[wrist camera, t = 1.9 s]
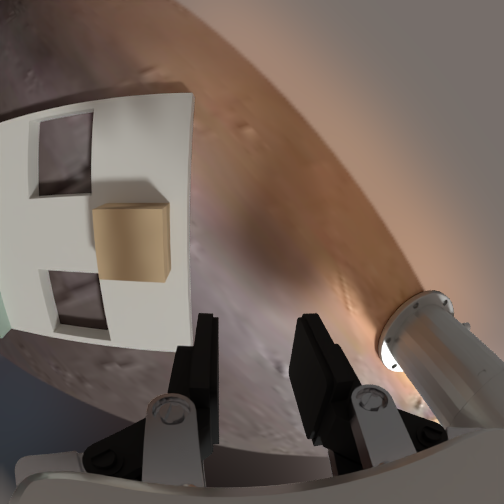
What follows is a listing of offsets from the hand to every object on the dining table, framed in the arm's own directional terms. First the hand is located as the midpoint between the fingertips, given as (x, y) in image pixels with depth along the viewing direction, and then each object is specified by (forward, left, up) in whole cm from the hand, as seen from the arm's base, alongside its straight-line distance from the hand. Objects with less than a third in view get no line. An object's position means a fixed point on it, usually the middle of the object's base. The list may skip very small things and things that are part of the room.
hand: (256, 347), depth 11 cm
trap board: (+18, 0, -17) cm, 25 cm away
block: (+9, 0, -15) cm, 18 cm away
